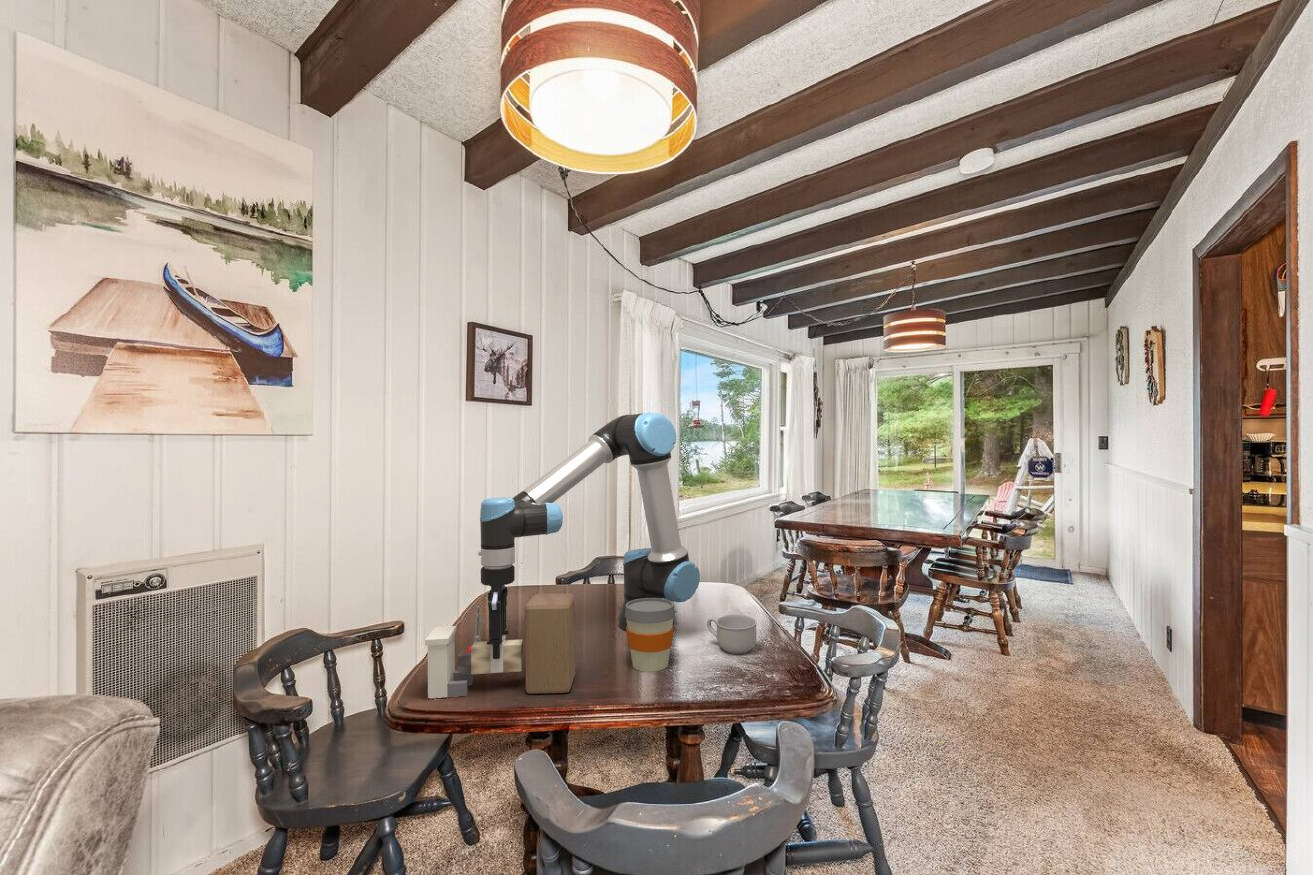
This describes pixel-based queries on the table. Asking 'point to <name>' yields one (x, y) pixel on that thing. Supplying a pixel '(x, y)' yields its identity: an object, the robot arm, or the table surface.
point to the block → (550, 643)
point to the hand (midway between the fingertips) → (498, 667)
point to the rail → (481, 658)
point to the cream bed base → (444, 665)
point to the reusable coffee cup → (650, 632)
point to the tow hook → (476, 629)
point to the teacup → (734, 632)
